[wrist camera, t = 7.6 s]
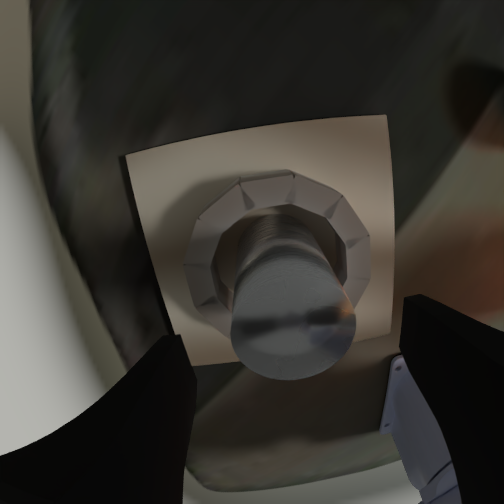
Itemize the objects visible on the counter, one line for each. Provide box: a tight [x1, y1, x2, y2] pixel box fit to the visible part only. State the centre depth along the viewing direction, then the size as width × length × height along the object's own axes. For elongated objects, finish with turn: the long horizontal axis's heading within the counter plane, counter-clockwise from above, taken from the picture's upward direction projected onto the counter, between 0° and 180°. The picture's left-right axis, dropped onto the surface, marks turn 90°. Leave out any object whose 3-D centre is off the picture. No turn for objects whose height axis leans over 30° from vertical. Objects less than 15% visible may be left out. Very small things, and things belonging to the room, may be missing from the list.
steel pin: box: [230, 214, 356, 380], centre depth 13 cm, size 4×4×7 cm
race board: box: [125, 115, 394, 366], centre depth 16 cm, size 13×13×3 cm
